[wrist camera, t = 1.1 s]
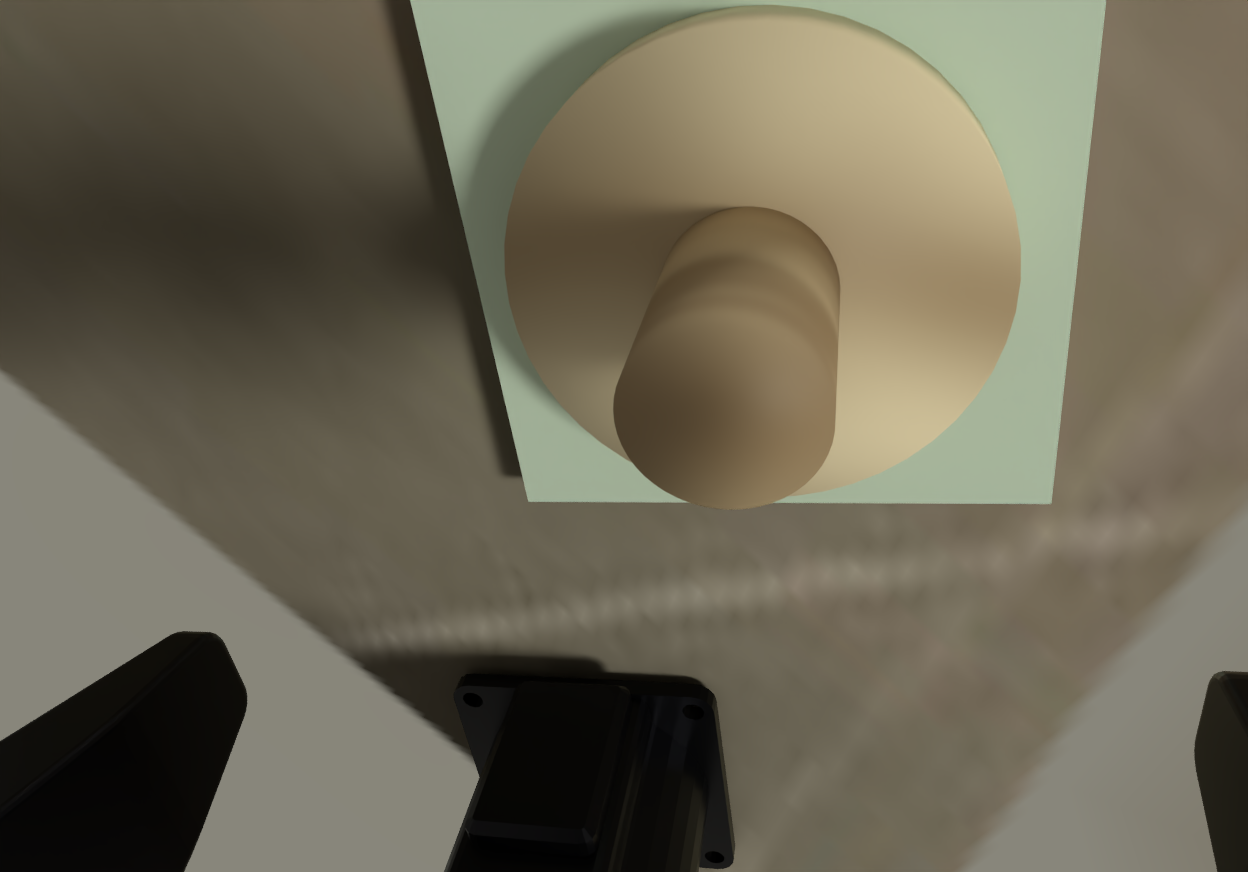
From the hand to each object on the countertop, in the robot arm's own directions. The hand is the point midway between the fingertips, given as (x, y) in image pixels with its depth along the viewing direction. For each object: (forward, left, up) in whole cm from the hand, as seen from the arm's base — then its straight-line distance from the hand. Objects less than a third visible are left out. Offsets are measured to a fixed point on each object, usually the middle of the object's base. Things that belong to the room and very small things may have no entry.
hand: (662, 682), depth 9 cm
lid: (0, 0, -9) cm, 9 cm away
